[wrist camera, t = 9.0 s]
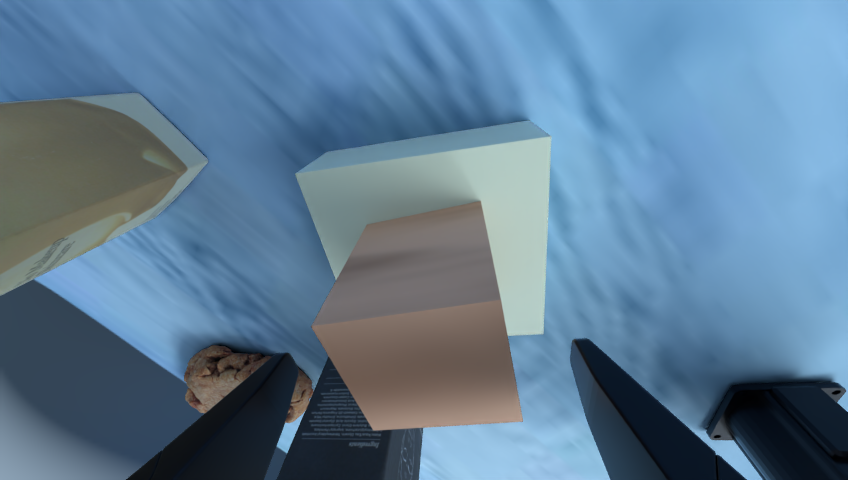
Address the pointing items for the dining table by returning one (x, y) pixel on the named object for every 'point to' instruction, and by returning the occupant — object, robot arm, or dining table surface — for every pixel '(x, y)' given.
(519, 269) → the sage base block
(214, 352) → the cookie
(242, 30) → the dining table surface
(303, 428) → the box
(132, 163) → the skincare box
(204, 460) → the robot arm
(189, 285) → the dining table surface
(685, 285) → the dining table surface
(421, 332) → the terracotta block
